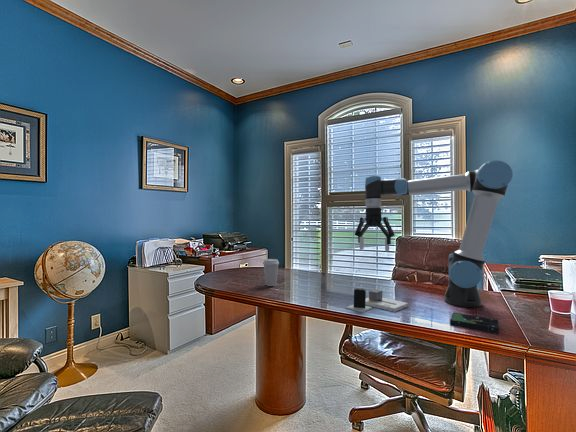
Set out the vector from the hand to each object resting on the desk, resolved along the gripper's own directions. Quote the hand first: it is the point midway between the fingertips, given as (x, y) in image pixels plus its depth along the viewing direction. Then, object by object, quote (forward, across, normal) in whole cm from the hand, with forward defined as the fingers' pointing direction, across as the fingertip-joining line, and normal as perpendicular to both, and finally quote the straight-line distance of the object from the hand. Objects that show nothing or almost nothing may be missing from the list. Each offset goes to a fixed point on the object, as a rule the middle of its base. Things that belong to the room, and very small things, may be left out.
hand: (374, 250), depth 145 cm
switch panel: (+24, +8, -7) cm, 26 cm away
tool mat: (+24, +3, -20) cm, 31 cm away
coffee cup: (+23, -56, -18) cm, 63 cm away
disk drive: (+25, +44, -7) cm, 51 cm away
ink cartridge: (+23, +3, -20) cm, 31 cm away
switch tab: (+22, +4, -7) cm, 23 cm away
